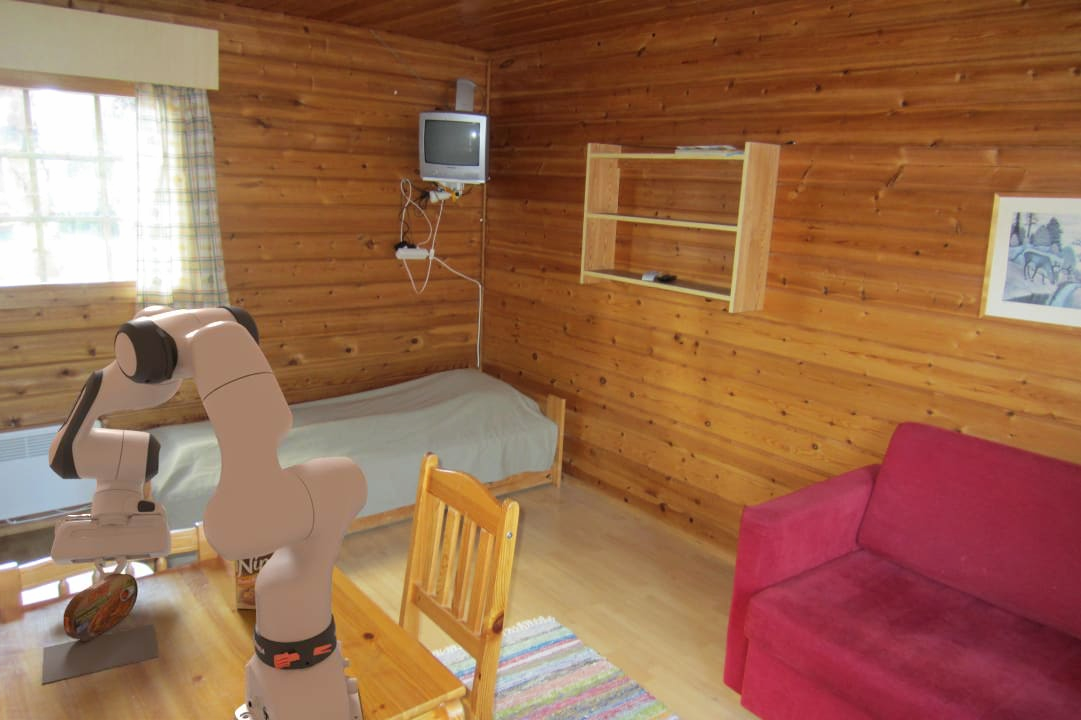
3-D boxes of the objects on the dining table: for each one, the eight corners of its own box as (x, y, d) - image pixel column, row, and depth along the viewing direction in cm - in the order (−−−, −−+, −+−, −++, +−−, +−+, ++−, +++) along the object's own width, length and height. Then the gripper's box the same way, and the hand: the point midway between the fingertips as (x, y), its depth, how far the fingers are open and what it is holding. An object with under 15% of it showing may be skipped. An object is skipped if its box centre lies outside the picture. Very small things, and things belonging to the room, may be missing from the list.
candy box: (235, 609, 154) (231, 534, 150) (244, 597, 158) (241, 525, 154) (281, 612, 153) (278, 537, 150) (289, 600, 157) (286, 527, 154)
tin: (76, 650, 139) (73, 605, 137) (61, 646, 139) (58, 602, 138) (140, 608, 153) (138, 566, 151) (126, 604, 154) (124, 563, 152)
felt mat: (158, 656, 138) (158, 655, 138) (42, 684, 130) (42, 683, 130) (153, 624, 147) (153, 623, 147) (43, 648, 139) (43, 647, 139)
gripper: (52, 510, 152) (40, 583, 145) (170, 503, 157) (164, 573, 150) (61, 522, 157) (50, 593, 150) (175, 514, 162) (170, 583, 156)
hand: (108, 583), depth 150 cm, fingers closed
